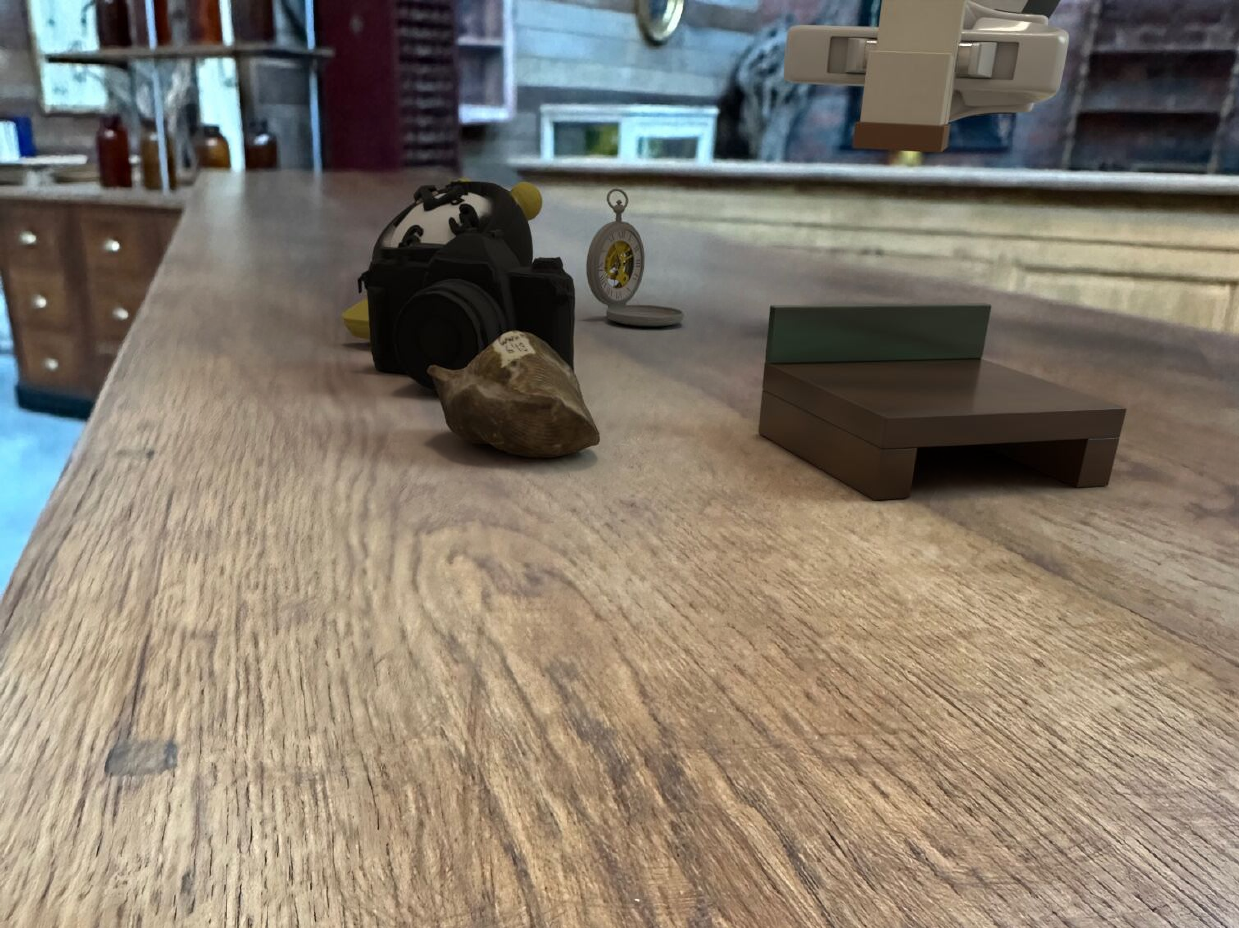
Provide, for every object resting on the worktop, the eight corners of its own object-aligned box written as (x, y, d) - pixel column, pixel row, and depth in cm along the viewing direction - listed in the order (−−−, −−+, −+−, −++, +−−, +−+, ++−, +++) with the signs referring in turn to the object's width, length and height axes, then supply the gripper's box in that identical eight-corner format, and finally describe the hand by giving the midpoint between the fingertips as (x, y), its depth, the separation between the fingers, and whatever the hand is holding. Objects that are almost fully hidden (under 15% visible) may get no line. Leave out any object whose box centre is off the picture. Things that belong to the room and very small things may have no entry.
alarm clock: (356, 377, 99) (358, 183, 97) (536, 387, 100) (541, 196, 99) (335, 333, 87) (337, 112, 85) (540, 345, 88) (545, 128, 87)
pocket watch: (678, 331, 101) (686, 196, 96) (578, 325, 102) (581, 191, 97) (689, 317, 108) (697, 190, 103) (595, 311, 109) (599, 185, 104)
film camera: (319, 385, 78) (306, 230, 73) (387, 360, 86) (379, 218, 81) (541, 409, 74) (542, 248, 70) (591, 381, 82) (594, 234, 78)
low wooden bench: (757, 433, 71) (769, 304, 68) (962, 424, 76) (984, 302, 72) (874, 500, 60) (896, 351, 57) (1108, 485, 64) (1143, 345, 61)
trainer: (867, 143, 90) (887, -20, 85) (947, 147, 89) (972, -18, 84) (851, 148, 81) (873, -36, 76) (940, 152, 80) (969, -34, 75)
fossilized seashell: (390, 391, 66) (485, 464, 60) (451, 278, 64) (555, 343, 58) (487, 447, 72) (582, 519, 66) (546, 345, 70) (649, 410, 64)
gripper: (800, 9, 96) (773, -3, 85) (1069, 17, 92) (1079, 4, 80) (791, 102, 99) (764, 102, 88) (1051, 113, 95) (1058, 115, 84)
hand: (917, 55), depth 84 cm, fingers closed on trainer, 5 cm apart
